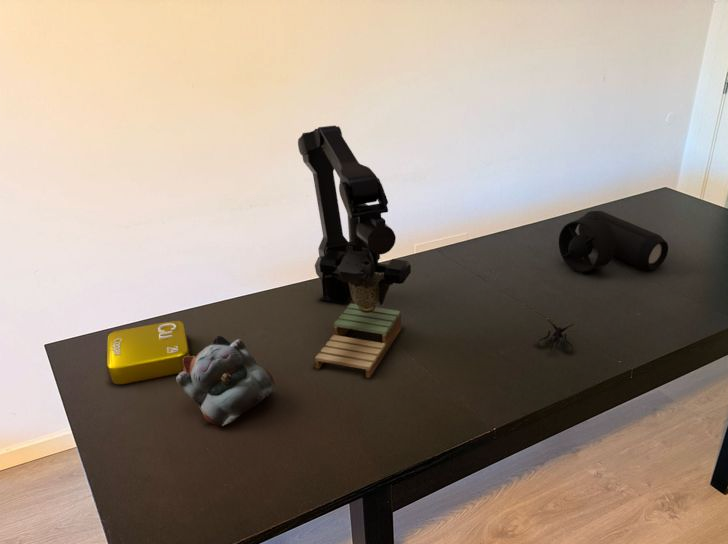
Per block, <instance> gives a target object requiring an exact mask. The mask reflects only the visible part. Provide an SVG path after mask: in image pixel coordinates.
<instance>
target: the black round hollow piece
mask: <svg viewBox="0 0 728 544" xmlns="http://www.w3.org/2000/svg"><path fill="white" fill-rule="evenodd" d="M584 215H585V214H584ZM584 215H583V216H581V217H579V218H578V219H575V220H573V221H570V222H568V223H567V224H566V225H564V226H563V228H561V231H560V232H559V237H558V249H559V253H560V255H561V258H562V259H563V261H564V263H565V264H566V265H567V266H568V267H569V268H571V269H572V271H574V272H576V273H578V274H586V273H589V272H591V271H592V270H594V269H598V268H601V267H602V268H603V267H605V266H607V265H608V264H609V263H610V262H611V261H612V259H613V258H614V257H615V256H614V253H615V249H616V240H615V235H614V232H613V230H612V228H611V227H610V225H609V224H608V223H607V222H606V221H605V220H604V219H603V218H601V217H599V216H597V215H592V214H590V215H585V216H584ZM579 224H581V225H584V226H585V227H587V228H588V229H589V230H590V231H591V232H592V233H593V235H594V236H593V237H591V238H590V237H589V236H587V235H586V234H578V233H577V232H576V230H577V228H578V227H579ZM593 239H596V242H597V246H598V248H597V255H596V256H597V257H596V259H595V262H594V263H593V262H592V261H591V259H590V255H591V254H592V253H593V249H594V246H593V243H592V240H593Z"/></svg>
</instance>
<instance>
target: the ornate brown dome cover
mask: <svg viewBox="0 0 728 544" xmlns="http://www.w3.org/2000/svg"><path fill="white" fill-rule="evenodd" d="M381 278H382V273H378V272H375V273H374V275H373V278H367V279H365V280H364V282H363V283H362V284H355V283H351V282H348V283H349V289H350V293H351V297H352V300H351V301H353V304H356V305H358V308H359V310H360V311H361V312H363V313H370V312H373V311H374V309H375V307H376V306H377V305H378V304H379V303H380V302H379V293H380V285H379V284H378V281H379V280H380V279H381Z"/></svg>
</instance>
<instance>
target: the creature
mask: <svg viewBox="0 0 728 544" xmlns="http://www.w3.org/2000/svg"><path fill="white" fill-rule="evenodd" d="M547 321H548V322H549V323H550V325H552V326H553V328H554V330H555V332H553V334H552V335H551V330H548V331H547V332H548V334H547V335H546V336H544V337H542V338H539V339H538V341H537V343H536V344H537V347H538V348H539V349H543V348H544V347H546V345H544V346H540V345H539V342H541V341H543V340H546V339H549V337H550V339H549V341H548V343H551V344H550V345H548V344H547V347H550V353H552V350H553V347H554V350H553V354H555V353H556V349H557V348H558V345H559V343H560V340H561V338H562V345H563V346H565V343H567V344H568V345H569V346H570V347H571V351H570V352H569V354H571V353H572V352H573V351H574V347H573V345H572V343H570V342H569V341H568V340H567V333H566V332H565V331H566V330H567V329H568V328H571V327H572V326H574V325H575V323H572V324H569V325H568V326H565V327H560V326H559V327H558V326H556V325H555V324H554V323H553V322H552V321H551V320H549V319H547ZM563 332H565V333H564V335H563ZM554 343H555V346H554ZM560 349H562V350H563V351H564V352H565V353H566V354H568V352H567V351H566V350H565V349H564V348H563V347H560Z"/></svg>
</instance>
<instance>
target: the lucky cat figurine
mask: <svg viewBox="0 0 728 544" xmlns="http://www.w3.org/2000/svg"><path fill="white" fill-rule="evenodd" d="M175 380H176V383H177V384H178V386H180V387H181V388H182V389H183V391H184V392H185V394H186V395H188V396H189V397H190V399H191V400H192V401H193V402H194V403H195V405H197V407H198V408H199V409H200V411H201V413H202V416H203V418H204V419H205V420H206V422H207V423H209V424H211V425H217V426H220V427H224V426H226V425H228V424H230V423H232V422H234V421H235V420H236V419H237V418H239V417H240V416H241V415H242V414H244V413H245V412H247V411H248V410H249V409H251V408H253V407H254V406H256V405H258V404H259V403H260V402H262V401H263V400H265V399H266V397H268V396H269V395H270V394H271V393H272V392H273V391H274V389H275V381H274V378H273V376H272V374H271V373H270V372H269V370H268V369H266V368H264V367H261V366H260V365H258V363H257V361H256V359H255V357H254V356H253V355H252V353H251V352H250V351H249V349H248V348H247V346H246V344H245V342H244V341H243V339H235V340H234V341H233V342H232V343H231V342H230V341H229V340H228V339H226V338H225V337H224V336H221V335H217V336H215V338H214V340H212V342H211V344H210V345H207V346H205V347H204V348H203V349H202V350H201V351H199V352H198V353H197V354H196V355H190V356H186V357H184V358H183V365H182V370H181V371H180V373H178V375H177V376H176V378H175Z"/></svg>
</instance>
